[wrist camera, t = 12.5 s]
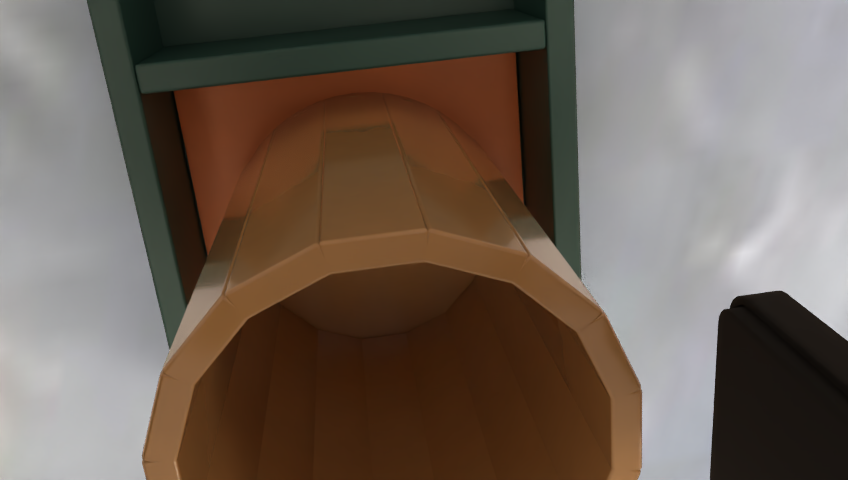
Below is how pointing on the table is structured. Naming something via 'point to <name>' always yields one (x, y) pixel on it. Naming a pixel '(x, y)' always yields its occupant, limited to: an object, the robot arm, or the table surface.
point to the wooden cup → (388, 321)
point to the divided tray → (321, 79)
